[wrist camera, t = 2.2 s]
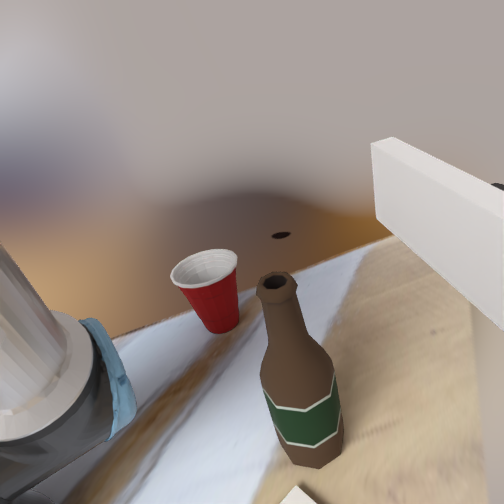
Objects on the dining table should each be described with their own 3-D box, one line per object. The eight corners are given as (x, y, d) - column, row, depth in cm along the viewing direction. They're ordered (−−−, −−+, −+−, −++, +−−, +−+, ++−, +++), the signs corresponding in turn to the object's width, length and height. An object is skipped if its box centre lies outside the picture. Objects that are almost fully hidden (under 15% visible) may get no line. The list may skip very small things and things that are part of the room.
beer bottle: (276, 418, 53) (230, 266, 41) (336, 405, 53) (309, 248, 40) (285, 478, 47) (234, 319, 34) (354, 464, 46) (328, 297, 34)
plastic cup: (246, 293, 76) (230, 238, 70) (260, 331, 67) (243, 272, 61) (189, 311, 75) (167, 257, 69) (194, 352, 66) (170, 294, 60)
